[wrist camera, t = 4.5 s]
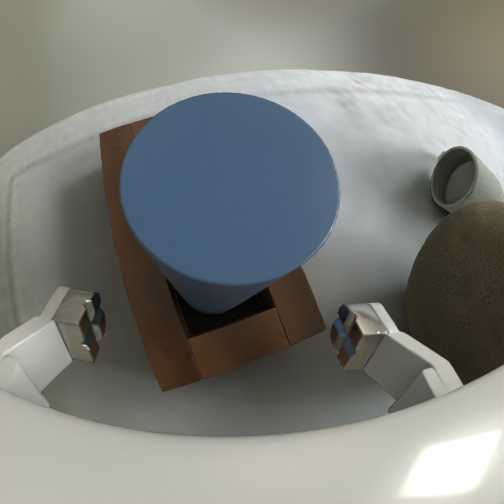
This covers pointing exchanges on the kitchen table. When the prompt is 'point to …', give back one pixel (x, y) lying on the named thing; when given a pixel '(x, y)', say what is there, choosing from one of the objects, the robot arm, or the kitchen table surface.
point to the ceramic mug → (463, 180)
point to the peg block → (168, 309)
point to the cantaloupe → (461, 290)
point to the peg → (228, 196)
